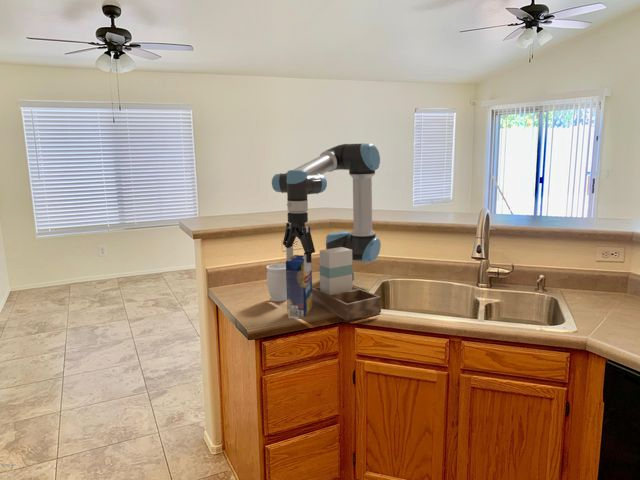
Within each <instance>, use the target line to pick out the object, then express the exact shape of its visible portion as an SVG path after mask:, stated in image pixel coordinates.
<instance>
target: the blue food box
mask: <svg viewBox="0 0 640 480" xmlns="http://www.w3.org/2000/svg"><path fill="white" fill-rule="evenodd" d="M285 264H286V284H287V300H286V306H287V307H286V309H287V310H286V311H287V315H286V316H287V319H301V320H303V317H306V315H308V313H309V312H310V311H311V310H312V308H313V303H312V288H313V278H312V277H313V271H312V268H313V267H312V265H313V264H312V262H311V271H307V272H305V271H304V254H301V255H299V254H293V256H292V257H291V258H290V259H288V260H287V261H285Z"/></svg>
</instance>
